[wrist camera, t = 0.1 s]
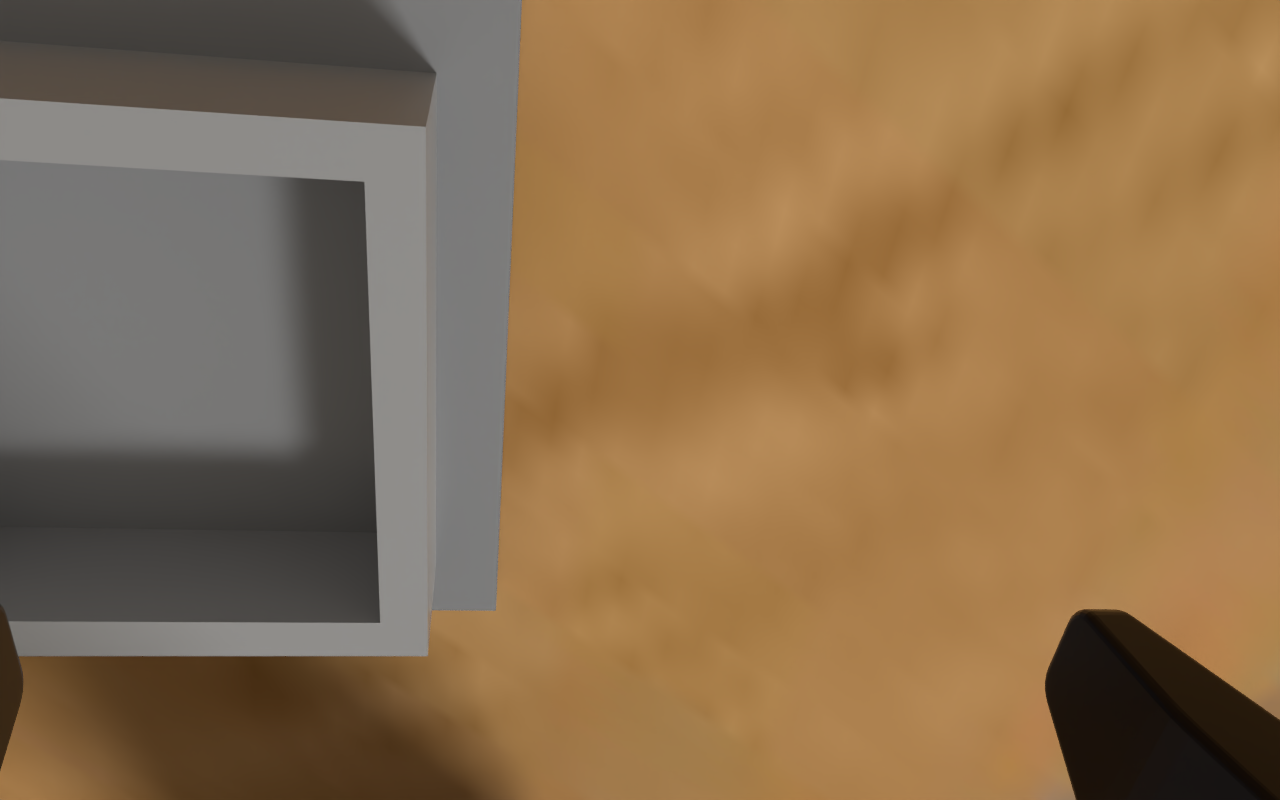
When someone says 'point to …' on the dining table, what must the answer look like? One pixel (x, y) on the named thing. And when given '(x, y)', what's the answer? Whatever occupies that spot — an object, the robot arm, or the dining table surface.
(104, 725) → the dining table surface
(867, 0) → the dining table surface
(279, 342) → the bottle caddy
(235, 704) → the dining table surface
